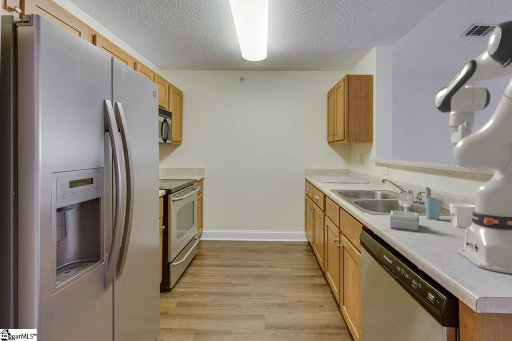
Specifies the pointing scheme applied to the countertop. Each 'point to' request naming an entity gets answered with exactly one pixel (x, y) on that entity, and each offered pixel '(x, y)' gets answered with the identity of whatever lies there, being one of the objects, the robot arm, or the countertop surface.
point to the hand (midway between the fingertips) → (459, 154)
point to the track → (404, 225)
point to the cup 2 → (461, 214)
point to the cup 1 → (433, 207)
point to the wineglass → (405, 200)
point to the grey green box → (400, 216)
